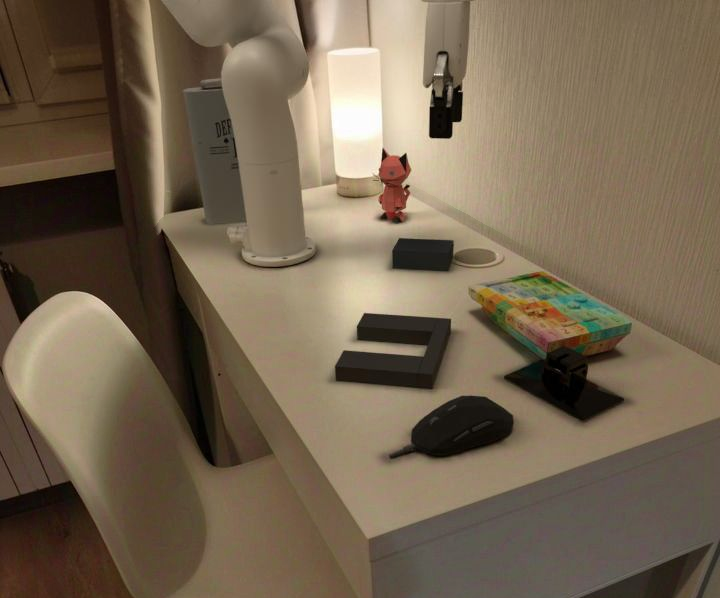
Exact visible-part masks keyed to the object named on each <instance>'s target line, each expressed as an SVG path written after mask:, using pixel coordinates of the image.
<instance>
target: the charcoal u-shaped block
mask: <svg viewBox="0 0 720 598" xmlns="http://www.w3.org/2000/svg"><path fill="white" fill-rule="evenodd" d="M451 331H452V318H448V317H447V318H445V317H431V316H419V315H416V316H415V315H402V314H387V313H385V314H384V313H373V312H363V314H362V316H361V318H360V320H359V321H358V323H357V325H356V337H357V338H356V339H357V340H358V341H368V342H369V341H370V342H382V343H394V344H395V343H396V344H397V343H398V344H409V345H411V344H412V345H423V346H427V347H426V349H425V352H424V355H423V356H422V355H410V354H398V353H397V354H396V353H386V352H385V353H383V352H371V351H358V350H347V349H346V350H345V349H344V350H343V351H342V352H341V354H340V356H339V358H338V360H337V362H336V363H335V365H334V372H335V373H334V374H335V380H336V381H343V382H352V383H353V382H354V383H362V384H363V383H365V384H376V385H388V386H398V387H408V388H420V389H421V388H422V389H433V387H434V386H435V385H434V384H435V381H436V378H437V376H438V372H439V370H440V366H441V363H442V360H443V357H444V354H445V351H446V348H447V345H448V342H449V338H450V336H451V334H452V333H451Z"/></svg>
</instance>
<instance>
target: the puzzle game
mask: <svg viewBox="0 0 720 598" xmlns="http://www.w3.org/2000/svg"><path fill="white" fill-rule="evenodd" d="M468 295H469V297H470V298H471V299H472V300H473V301H475V302H476V303H477V304H479V305H480V306H481V307H482V309H483V312H484V313H485V315H486V317H488V319H489V320H490V321H491V322H492V323H494V324H495V325H496V326H498V327H499V328H500V329H502V330H503V331H504V332H506V333H507V334H509V335H510V336H511V337H512V338H514V339H515V340H516V341H518V342H519V343H521V344H522V345H524V346H525V347H526V348H527V349H529V350H530V351H531V352H533V353H534V354H535V355H536V356H538V357H539V358H540V359H543V360H544V359H546V354H547V353H548V352H551V351H553V350H555V349H557V348H560V347H562V346H566V347H568V348H570V349H572V350H574V351H576V352H578V353H580V354H582V355H585V356H587V357H588V356H592V355H595V354H600V353H604V352H607V351H611V350H613V349H614V348H615V347H616V346H617V345H618V344H619V343H620V342H622V340H623V339H625V338H626V337H627V336H628V335H630V334H631V331H632V326H633V323H632V322H631V321H630V320H629V318H628V317H626V316H625V315H622V314H620V313H619V312H617V311H615V310H613V309H612V308H610V307H608V306H606V305H604V304H603V303H601V302H599V301H597V300H595V299H594V298H592V297H590V296H588V295H586V294H585V293H582V292H581V291H579V290H578V289H575V288H574V287H572V286H570V285H568V284H566V283H564V282H563V281H561V280H559V279H557V278H556V277H554V276H552V275H550V274H548V273H546V272H545V271H543V270H539V271H536V272H531V273H526V274H521V275H516V276H512V277H511V276H510V277H506V278H502V279H497V280H492V281H487V282H481V283H477V284H472V285H469V286H468Z"/></svg>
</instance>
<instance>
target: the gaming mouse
mask: <svg viewBox="0 0 720 598" xmlns="http://www.w3.org/2000/svg"><path fill="white" fill-rule="evenodd" d="M514 423H515V420H514V414H512V413H511V412H509V411H508V410H507V409H506V408H505V407H503V406H502V405H500V404H498V403H497V402H495V401H493V400H492V399H490V398H488V397H487V396H483V395H482V396H481V395H459V396H457V397H455V398H452V399H450V400H448V401H446V402H444V403H443V404H441V405H440V406H438V407H436V408H434V409H433V410H431V411H430V412H429V413H428V414H426V415H425V416H424V417H422V418H421V419H420V420H419V421H418V422H417V423H416V424H415V425H414V427H413V428H412V429H411V433H410V434H411V435H410V442H411V443H410V444H407V445H406V446H403V448H401V449H399V450H397V451H394V452H392V453H390V454H388V457H389V458H390V459H392V458H394V457H397V456H400V455H402V454H407V453H409V452H411V451H414V450H415V449H418V451H420V452H423V453H426V454H429V455H431V456H448V455H451V454H454V453H459V452H462V451H465V450H468V449H471V448H474V447H477V446H483V445H486V444H488V443H492V442H495V441H497V440H500V439H501V438H503V437H504V436H506V435H508V434H509V433H510V432H511V431H512V429H513V427H514Z"/></svg>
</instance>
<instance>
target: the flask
mask: <svg viewBox="0 0 720 598" xmlns="http://www.w3.org/2000/svg"><path fill="white" fill-rule="evenodd" d="M221 74H222V71H220V75H221ZM213 84H214V85H213ZM215 84H222V82H221V77H218V78H211V79H209V78H208V79H202V80H201V81H200V83H199V85H200V87H199V86H198V87H188V88H184V89H183V90H182V94H183V99H184V104H185V105H184V106H185V108H186V115H187V122H188V126H189V132H190V138H191V143H192V148H193V149H192V150H193V156H194V160H195V166H196V172H197V178H198V185H199V189H200V195H201V200H202V207H203V212H204V218H205V222H206V224H214V225H215V224H216V225H217V224H228V223H229V224H230V223H239V222H247V220H246V213H245V206H244V199H243V191H242V184H241V177H240V170H239V163H238V158H237V151H236V144H235V138H234V132H233V127H232V123H231V119H230V115H229V111H228V108H227V105H226V101H225V98H224V94H223V90H222V85H216V86H215ZM207 85H213V86H207Z"/></svg>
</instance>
